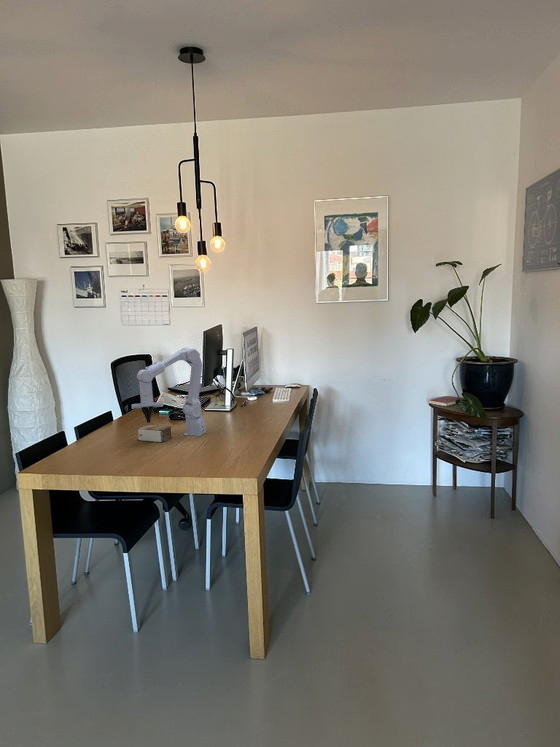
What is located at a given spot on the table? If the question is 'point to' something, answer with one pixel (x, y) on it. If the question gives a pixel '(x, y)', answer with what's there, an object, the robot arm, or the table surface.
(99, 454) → the table surface
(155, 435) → the door
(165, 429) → the cabinet
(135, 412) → the table surface
